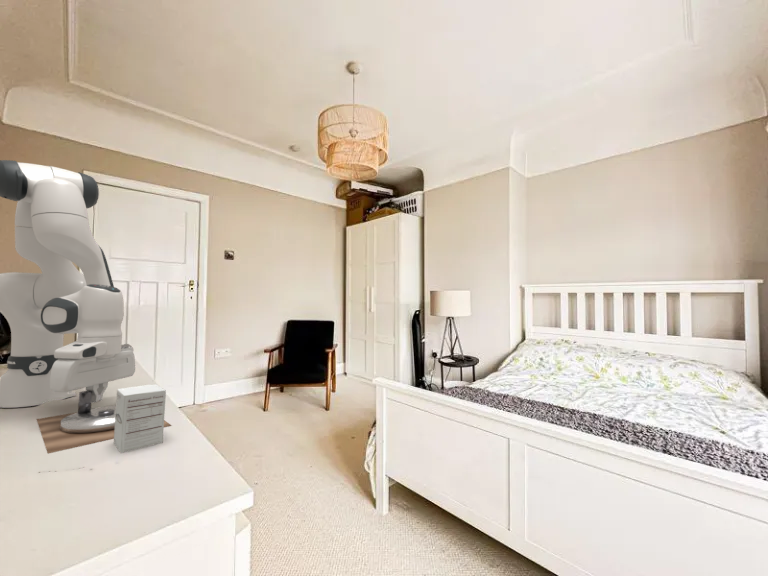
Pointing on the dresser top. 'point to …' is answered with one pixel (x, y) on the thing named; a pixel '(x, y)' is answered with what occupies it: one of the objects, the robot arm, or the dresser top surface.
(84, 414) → the dial
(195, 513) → the dresser top surface
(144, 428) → the supplement box
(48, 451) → the base board
